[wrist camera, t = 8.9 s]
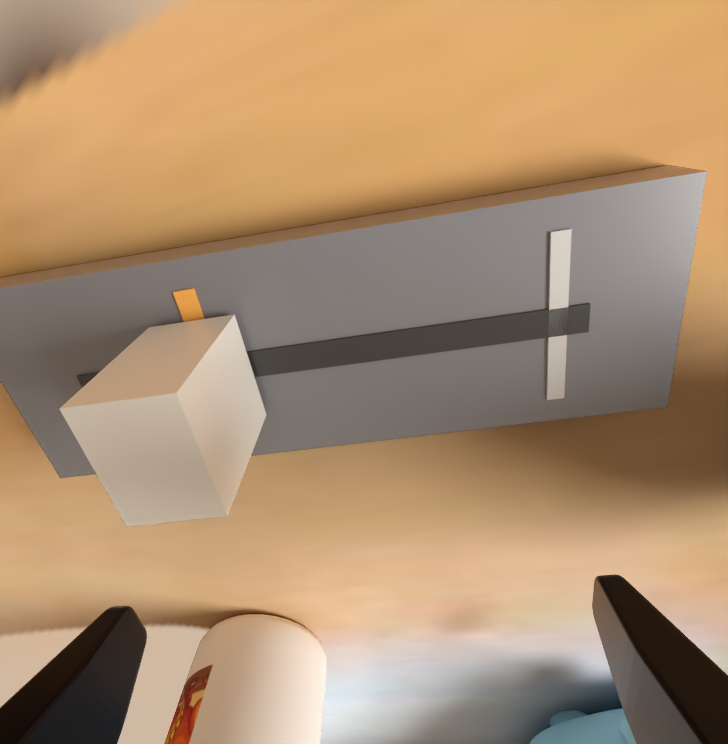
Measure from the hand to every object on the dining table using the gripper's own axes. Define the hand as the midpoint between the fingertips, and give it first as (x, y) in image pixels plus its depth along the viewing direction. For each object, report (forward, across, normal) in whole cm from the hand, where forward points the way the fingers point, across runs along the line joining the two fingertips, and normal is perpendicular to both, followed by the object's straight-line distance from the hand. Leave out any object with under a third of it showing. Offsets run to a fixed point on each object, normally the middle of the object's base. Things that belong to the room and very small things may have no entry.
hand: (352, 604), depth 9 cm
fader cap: (+8, +6, -1) cm, 10 cm away
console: (+11, +2, -1) cm, 11 cm away
